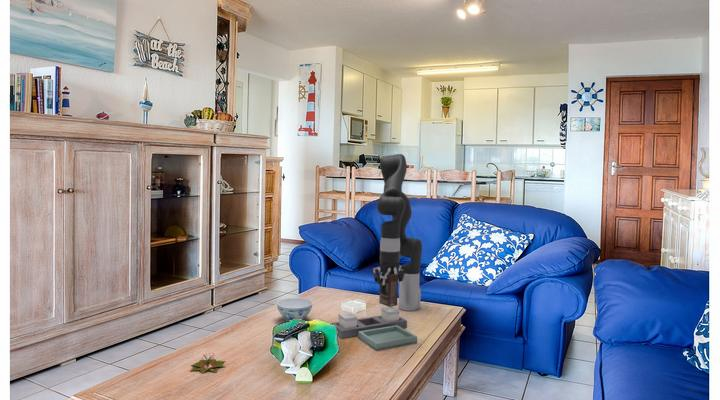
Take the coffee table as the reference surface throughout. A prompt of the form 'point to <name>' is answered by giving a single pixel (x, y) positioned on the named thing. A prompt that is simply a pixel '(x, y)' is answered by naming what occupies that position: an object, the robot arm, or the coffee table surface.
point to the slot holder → (368, 325)
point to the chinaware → (294, 308)
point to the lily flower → (207, 362)
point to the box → (390, 291)
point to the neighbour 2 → (390, 314)
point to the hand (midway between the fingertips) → (388, 293)
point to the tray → (387, 337)
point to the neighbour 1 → (347, 320)
